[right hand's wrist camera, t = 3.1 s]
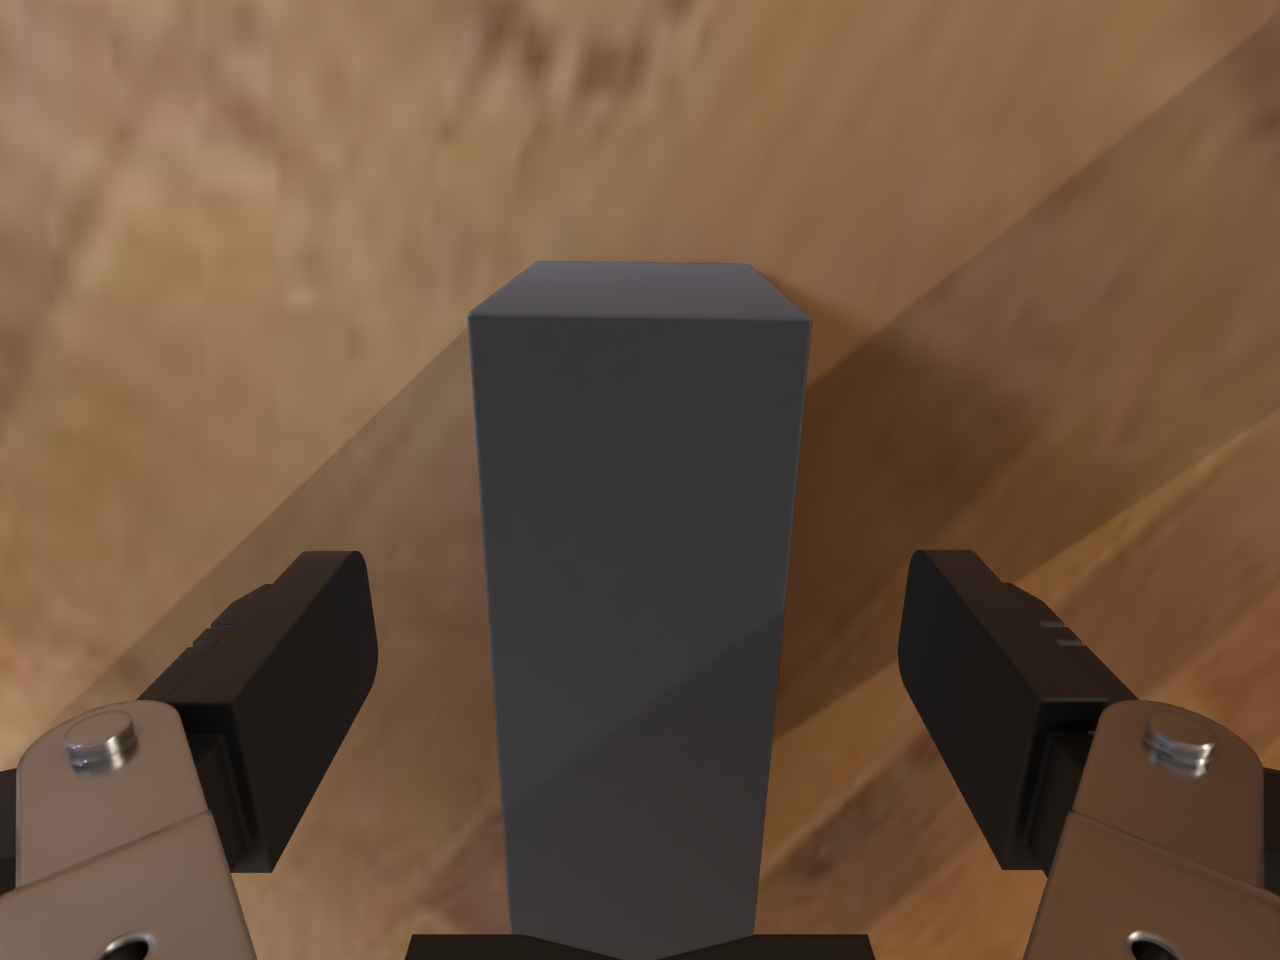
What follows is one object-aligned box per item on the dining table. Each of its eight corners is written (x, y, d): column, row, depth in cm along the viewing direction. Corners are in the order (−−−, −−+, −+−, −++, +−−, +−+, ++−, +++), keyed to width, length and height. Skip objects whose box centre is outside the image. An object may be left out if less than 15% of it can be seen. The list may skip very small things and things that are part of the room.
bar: (535, 260, 21) (465, 311, 13) (750, 263, 21) (813, 316, 13) (558, 898, 30) (525, 1162, 22) (709, 900, 30) (732, 1166, 22)
